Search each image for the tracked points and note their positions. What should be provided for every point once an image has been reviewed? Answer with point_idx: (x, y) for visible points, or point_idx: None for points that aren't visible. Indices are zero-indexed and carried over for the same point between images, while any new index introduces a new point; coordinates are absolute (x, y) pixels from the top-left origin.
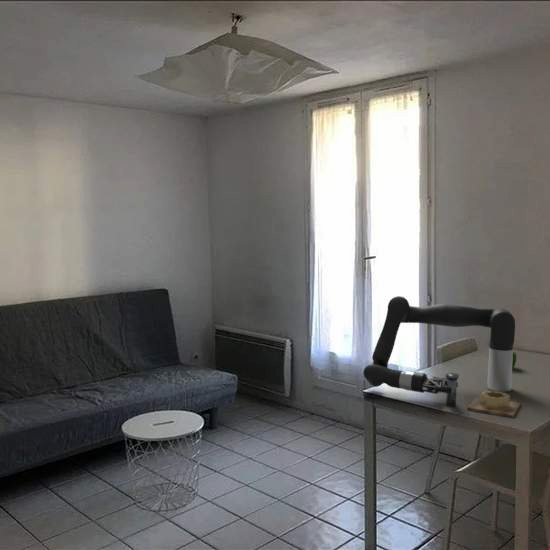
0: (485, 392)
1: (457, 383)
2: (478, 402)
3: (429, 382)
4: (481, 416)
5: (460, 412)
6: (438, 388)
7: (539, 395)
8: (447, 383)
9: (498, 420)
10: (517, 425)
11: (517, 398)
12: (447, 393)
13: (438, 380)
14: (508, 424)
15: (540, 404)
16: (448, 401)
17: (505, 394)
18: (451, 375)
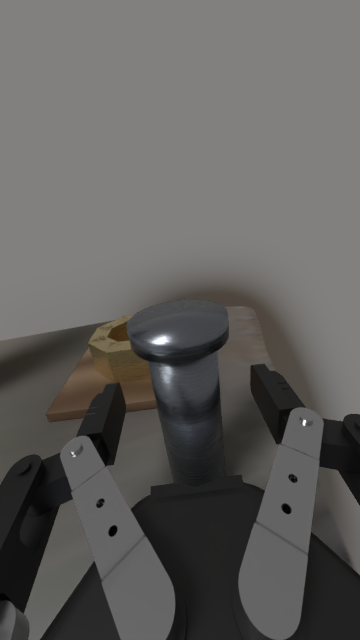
0: (117, 345)
1: (118, 384)
2: (132, 388)
3: (303, 609)
4: (239, 360)
5: None
6: (339, 421)
7: (10, 343)
8: (211, 387)
9: (234, 335)
10: (233, 317)
11: (37, 357)
12: (218, 439)
13: (129, 508)
14: (242, 323)
15: (79, 329)
16: (223, 463)
17: (117, 321)
18: (203, 312)
